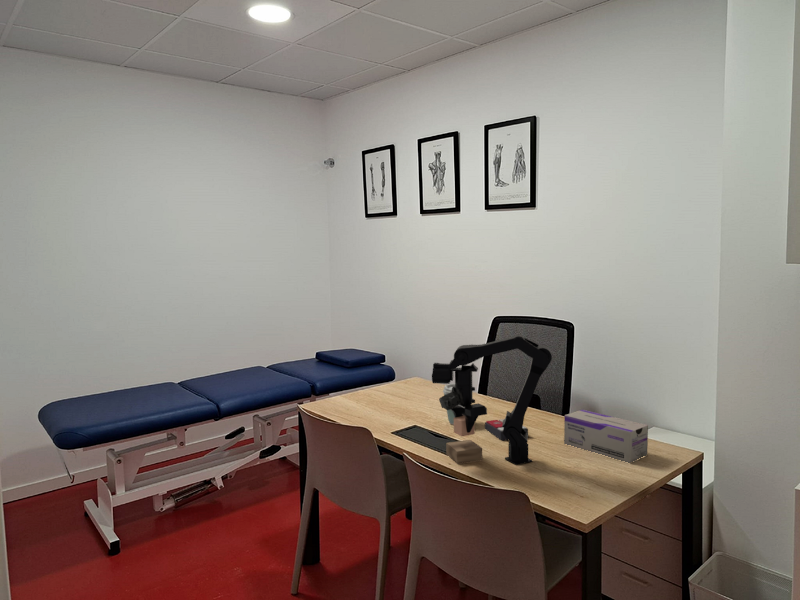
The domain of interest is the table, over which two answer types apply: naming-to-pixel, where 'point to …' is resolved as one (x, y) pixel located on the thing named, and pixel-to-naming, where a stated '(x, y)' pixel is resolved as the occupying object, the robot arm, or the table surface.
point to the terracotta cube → (462, 427)
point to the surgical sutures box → (606, 435)
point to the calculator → (497, 428)
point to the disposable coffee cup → (450, 413)
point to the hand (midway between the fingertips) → (464, 430)
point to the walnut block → (464, 451)
